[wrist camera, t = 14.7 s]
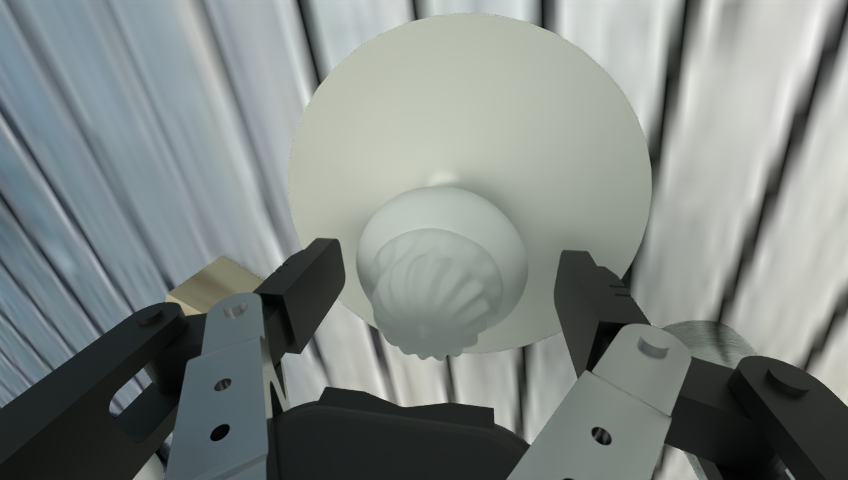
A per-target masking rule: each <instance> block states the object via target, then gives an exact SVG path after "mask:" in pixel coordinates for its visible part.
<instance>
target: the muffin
mask: <svg viewBox="0 0 848 480" xmlns="http://www.w3.org/2000/svg"><path fill="white" fill-rule="evenodd" d="M356 267H357V274H358V278H359V281H360V284H361V287H362V289H363V291H364V293H365V295H366V297H367V298H368V300H369V302H370V303H371V304H372V308H373V310H374V311H373V318H374V322H375V324H376V326H377V327H378V329H379V330H380V331H381V332H382V333H383V334H384V337H385V339H386V340H387V341H388V342H389V343H390V344H391V345H394V346H398V347H399V348H400V350H401V351H402V352H403V353H404V354H407V355H409V354H417V355H418V357H419V358H420V359H422V360H425V359H427V358H428V357H430V356H432V357H434V358H435V359H437V360H439V361H442V360H443V359H444V358H445V357H446V355H451V356H456V357H457V356H460V355H461V354H462V351H463V348H469V347H472V346H475V345H476V344H477V342H478V334H480V333H482V332H484V331H486V330H488V329H490V328H492V327H494V326H496V325H497V324H499V323H500V322H502V321H503V320H504V319H505V318H506V317H507V316H508V315H509V314H510V313H511V312H512V311H513V310H514V308H515V307H516V305H517V304H518V302H519V300H520V299H521V297H522V294H523V292H524V290H525V287H526V283H527V278H528V258H527V254H526V251H525V248H524V245H523V243H522V241H521V239H520V236H519V235H518V233H517V231H516V229H515V228H514V226H513V225H512V223H511V222H510V221H509V220H508V218H507V217H506V216H505V215H504V214H503V213H502V212H501V211H500V210H499V209H498V208H497V207H495V206H494V205H493V204H492V203H490V202H489V201H487V200H486V199H484V198H482V197H480V196H478V195H476V194H474V193H472V192H469V191H466V190H463V189H459V188H454V187H444V186H432V187H423V188H417V189H413V190H409V191H406V192H404V193H402V194H399V195H397V196H396V197H394V198H392V199H391V200H389V201H388V202H387V203H385V204H384V205H383V206H382V207H381V208H380V209H379V210H378V211H377V212H376V213H375V214H374V215H373V216H372V218H371V219H370V221H369V222H368V224H367V225H366V227H365V229H364V231H363V233H362V236H361V238H360V241H359V244H358V248H357V254H356Z"/></svg>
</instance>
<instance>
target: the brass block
mask: <svg viewBox="0 0 848 480" xmlns="http://www.w3.org/2000/svg"><path fill="white" fill-rule="evenodd" d="M264 281H265V280H263V279H261V278H259V277H258V276H256V275H254V274H253V273H251V272H249V271H248V270H246V269H244V268H242V267H241V266H239V265H237V264H236V263H234V262H232V261H231V260H229V259H227V258H226V257H224V256H221V257H220V258H218V259H217V260H215V261H214V262H212V263H211V264H209V265H208V266H207V267H205V268H204V269H202V270H201V271H199V272H198V273H196V274H195V275H193V276H192V277H191V278H189V279H188V280H186V281H185V282H183V283H182V284H180V285H179V286H177V287H176V288H175V289H173V290H172V291H170V292H169V293H167V296H166V300H165V302H175V303H178V304H180V306H181V308H182V310H183V312H184V314H185V316H188V315H195V314H202V313H208V311H209V310H210V308H211V307H212V306H213V305H215V304H216V303H217V302H219V301H220V300H222V299H224V298H226V297H229V296H231V295H235V294H239V293H247V292H249V293H252V292H253V291H254V290H255V289H256V288H257V287H258V286H259V285H260V284H262V283H263V282H264Z"/></svg>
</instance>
